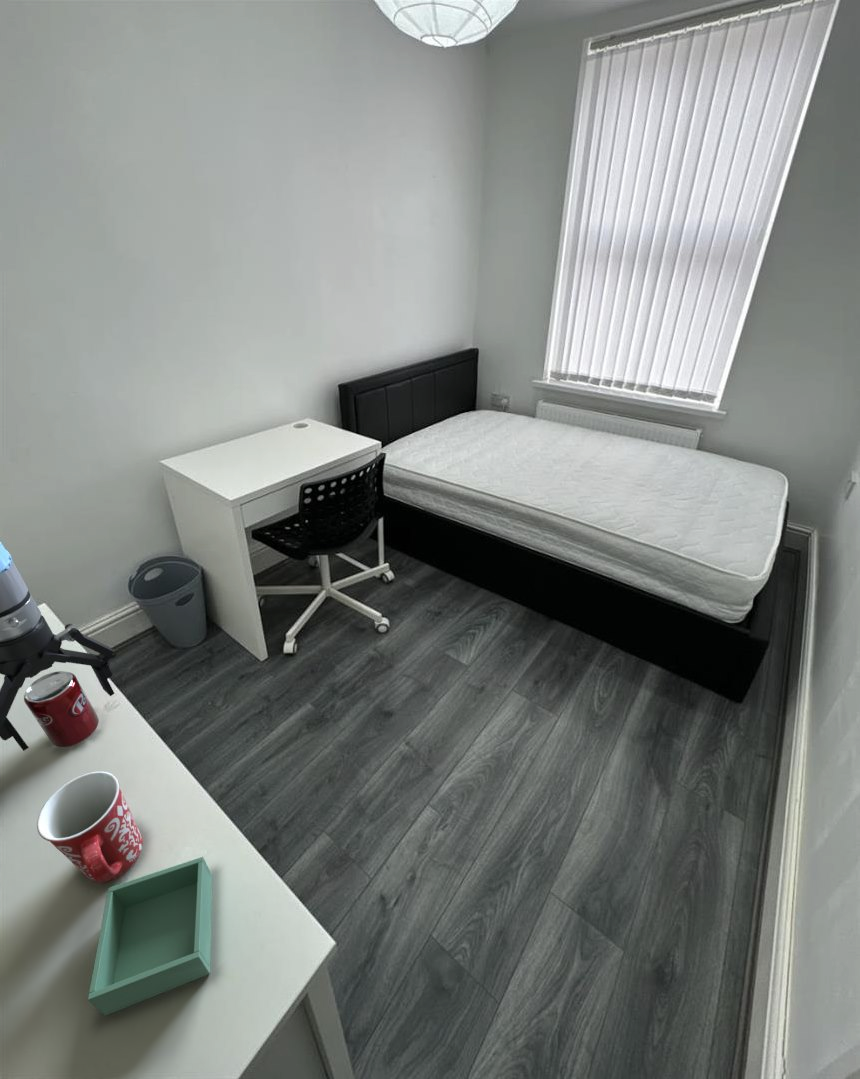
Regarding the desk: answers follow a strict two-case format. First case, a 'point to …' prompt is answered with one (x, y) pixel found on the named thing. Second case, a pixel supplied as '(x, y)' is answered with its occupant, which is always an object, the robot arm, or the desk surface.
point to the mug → (92, 826)
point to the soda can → (61, 708)
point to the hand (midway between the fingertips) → (68, 716)
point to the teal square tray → (153, 936)
